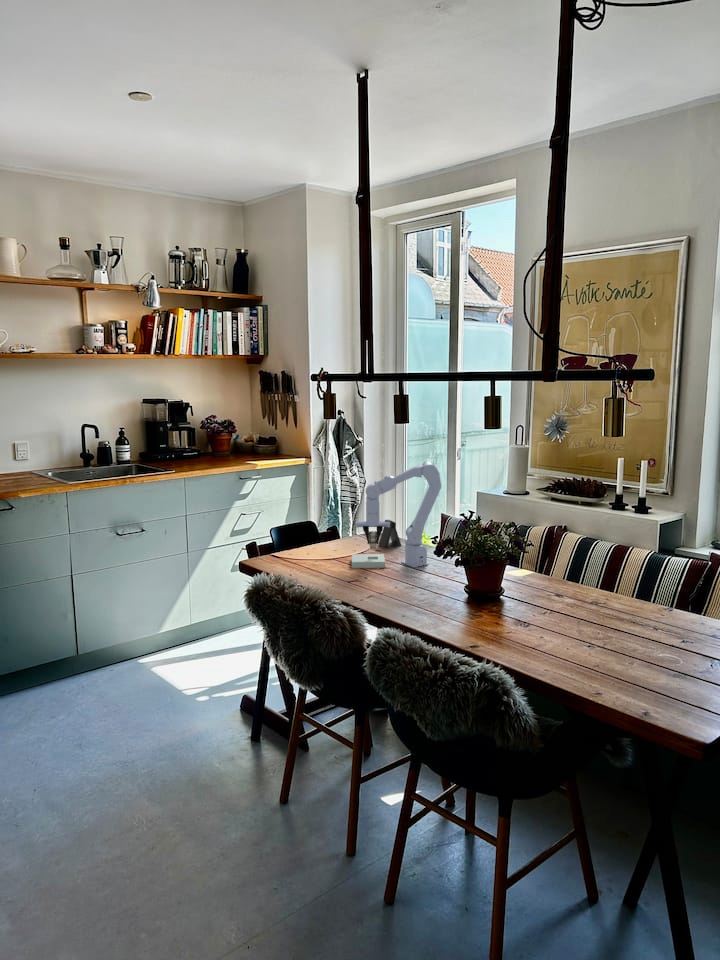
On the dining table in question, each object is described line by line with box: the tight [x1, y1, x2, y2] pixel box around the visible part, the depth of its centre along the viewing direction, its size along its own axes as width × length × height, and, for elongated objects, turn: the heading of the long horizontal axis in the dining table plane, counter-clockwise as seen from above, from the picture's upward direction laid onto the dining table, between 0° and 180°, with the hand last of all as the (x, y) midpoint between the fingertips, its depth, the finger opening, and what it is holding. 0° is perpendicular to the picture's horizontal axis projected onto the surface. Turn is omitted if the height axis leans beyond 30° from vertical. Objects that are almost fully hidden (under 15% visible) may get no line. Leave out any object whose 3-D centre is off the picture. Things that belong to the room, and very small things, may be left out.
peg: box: [369, 530, 377, 550], centre depth 299 cm, size 3×3×7 cm
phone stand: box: [378, 519, 402, 549], centre depth 329 cm, size 9×6×12 cm, turn 116°
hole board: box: [351, 553, 386, 569], centre depth 300 cm, size 14×12×2 cm
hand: (372, 543), depth 299 cm, fingers closed on peg, 3 cm apart
